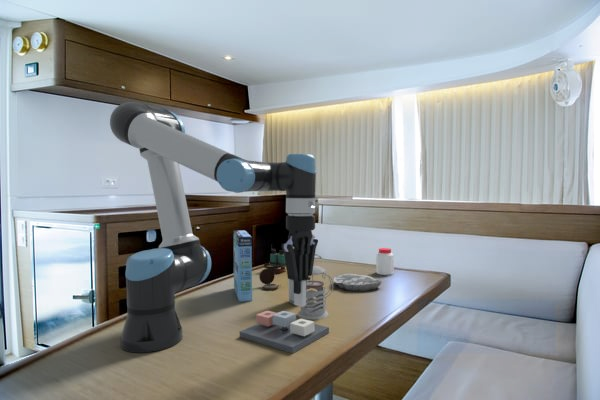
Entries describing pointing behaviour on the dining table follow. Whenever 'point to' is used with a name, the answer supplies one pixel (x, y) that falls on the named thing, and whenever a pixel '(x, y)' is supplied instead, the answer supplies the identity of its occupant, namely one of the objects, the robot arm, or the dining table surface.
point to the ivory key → (302, 327)
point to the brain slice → (356, 282)
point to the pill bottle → (384, 262)
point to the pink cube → (265, 318)
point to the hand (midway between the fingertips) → (300, 304)
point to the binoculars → (276, 262)
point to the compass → (268, 279)
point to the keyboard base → (282, 336)
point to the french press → (317, 308)
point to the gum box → (243, 265)
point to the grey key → (284, 319)
